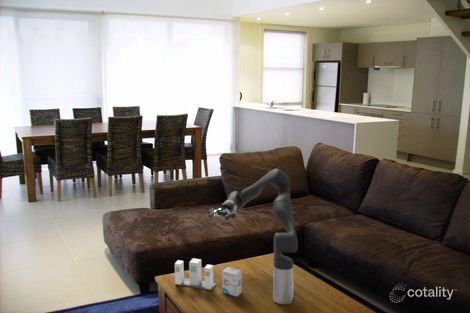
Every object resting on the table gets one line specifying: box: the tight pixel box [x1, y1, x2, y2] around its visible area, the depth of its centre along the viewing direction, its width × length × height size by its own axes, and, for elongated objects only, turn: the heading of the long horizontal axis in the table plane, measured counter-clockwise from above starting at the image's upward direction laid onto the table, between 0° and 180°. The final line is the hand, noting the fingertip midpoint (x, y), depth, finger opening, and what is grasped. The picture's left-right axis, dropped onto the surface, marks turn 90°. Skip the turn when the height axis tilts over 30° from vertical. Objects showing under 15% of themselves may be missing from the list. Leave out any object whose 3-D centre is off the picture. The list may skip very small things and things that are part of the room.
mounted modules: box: [174, 259, 214, 290], centre depth 217 cm, size 19×4×11 cm, turn 73°
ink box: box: [221, 266, 243, 297], centre depth 212 cm, size 9×5×12 cm, turn 62°
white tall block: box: [188, 257, 203, 286], centre depth 219 cm, size 4×5×12 cm
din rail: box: [174, 277, 217, 291], centre depth 220 cm, size 20×6×1 cm, turn 73°
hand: (218, 217), depth 220 cm, fingers open, 8 cm apart
